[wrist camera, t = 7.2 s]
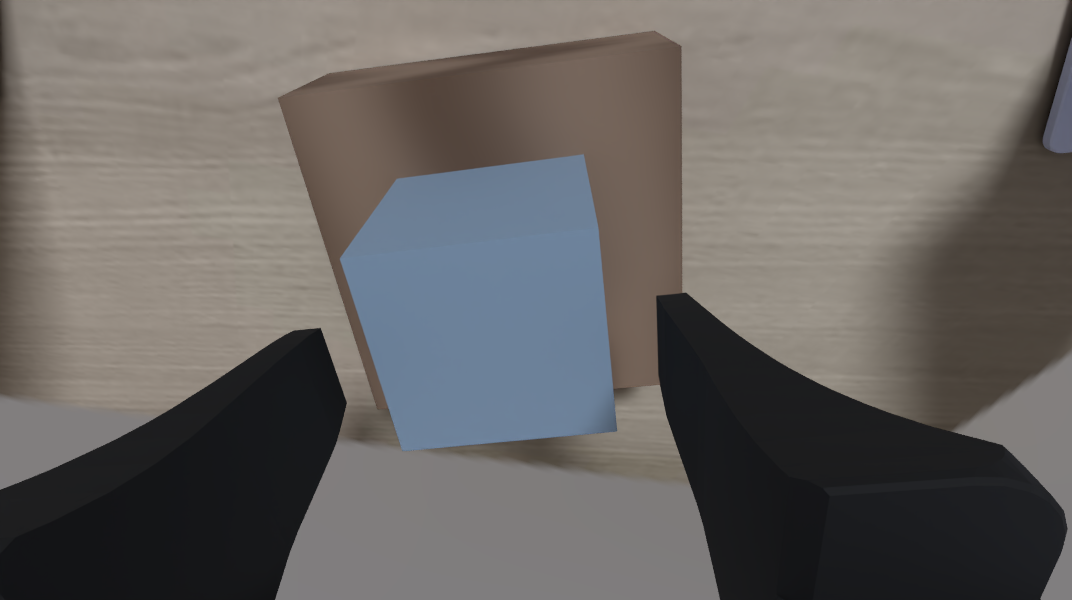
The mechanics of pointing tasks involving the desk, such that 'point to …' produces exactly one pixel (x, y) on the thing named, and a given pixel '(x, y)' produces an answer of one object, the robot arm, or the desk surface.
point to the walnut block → (514, 157)
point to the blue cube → (486, 305)
